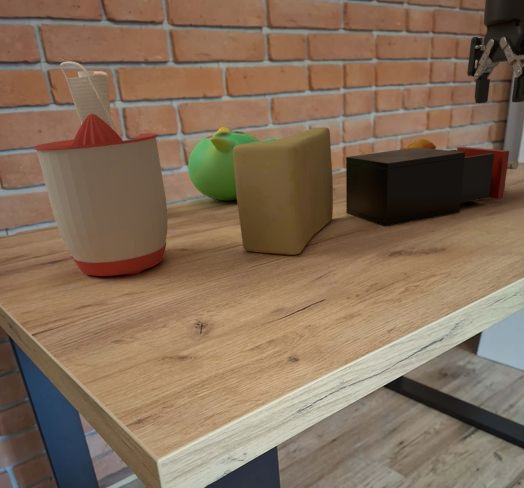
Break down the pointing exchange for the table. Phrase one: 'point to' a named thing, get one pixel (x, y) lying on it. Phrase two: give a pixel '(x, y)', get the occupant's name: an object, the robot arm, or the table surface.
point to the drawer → (484, 173)
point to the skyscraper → (90, 94)
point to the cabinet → (404, 185)
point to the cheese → (284, 191)
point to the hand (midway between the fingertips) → (498, 102)
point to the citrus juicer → (107, 198)
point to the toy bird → (217, 163)
